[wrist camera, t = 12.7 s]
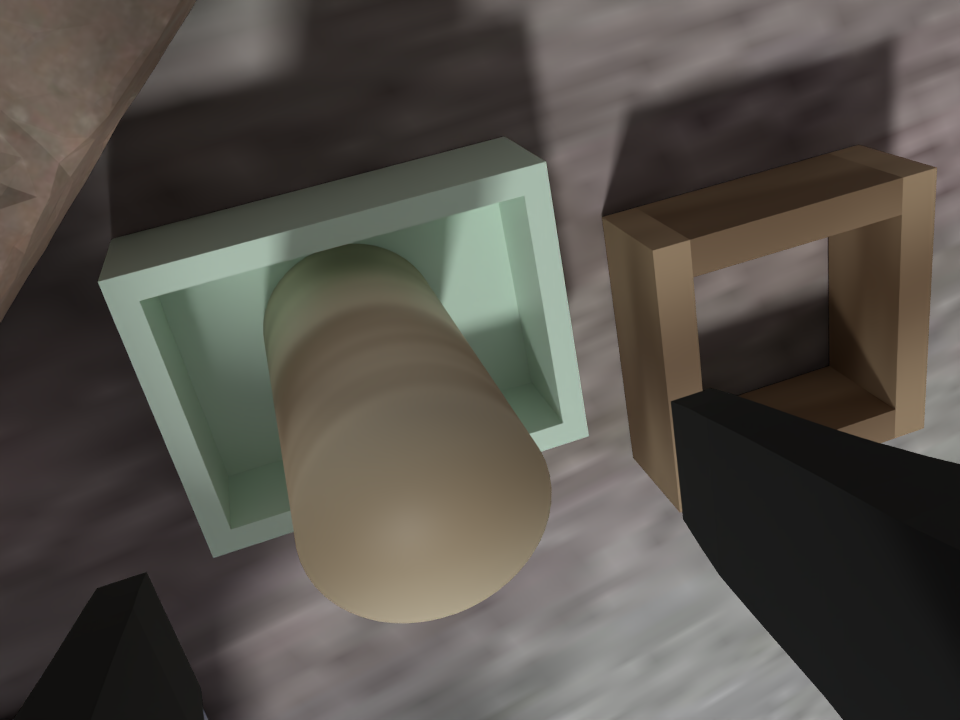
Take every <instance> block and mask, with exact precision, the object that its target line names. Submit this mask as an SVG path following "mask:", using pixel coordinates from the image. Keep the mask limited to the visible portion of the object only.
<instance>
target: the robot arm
mask: <svg viewBox="0 0 960 720" xmlns="http://www.w3.org/2000/svg"><path fill="white" fill-rule="evenodd" d="M671 409H672V419H673V428H674V438H675V447H676V456H677V466H678V475H679V485H680V494H681V504H682V513H683V520H684V521H685V523H686V524H687V526H688V528H689V529H690V531H691V532H692V534H693V536H694V537H695V539H696V540H697V542H698V543H699V545H700V547H701V548H702V550H703V551H704V553H705V554H706V556H707V557H708V559H709V560H710V562H711V563H712V565H713V566H714V568H715V569H716V571H717V572H718V574H719V575H720V576H721V578H722V579H723V580H724V581H725V582H726V584H727V585H728V586H729V587H730V588H731V589H732V591H733V592H734V593H735V594H736V595H737V596H738V598H739V599H740V600H741V601H742V602H743V603H744V605H745V606H746V607H747V608H748V609H749V610H750V612H751V613H752V614H753V615H754V616H755V617H756V619H757V620H758V621H759V622H760V623H761V624H762V625H763V627H764V628H765V629H766V630H767V631H768V632H769V633H770V635H771V636H772V637H773V638H774V639H775V640H776V641H777V643H778V644H779V645H780V646H781V647H782V648H783V649H784V651H785V652H786V653H787V654H788V655H789V656H790V657H791V659H792V660H793V661H794V662H795V663H796V664H797V665H798V667H799V668H800V669H801V670H802V671H803V672H804V673H805V675H806V676H807V677H808V678H809V679H810V680H811V681H812V683H813V684H814V685H815V686H816V687H817V688H818V690H819V691H820V692H821V693H822V694H823V695H824V696H825V698H826V699H827V700H828V701H829V703H830V704H831V705H832V706H833V708H834V709H835V710H836V711H837V713H838V714H839V715H840V716H841V718H842V719H843V720H960V464H957V463H953V462H949V461H944V460H940V459H936V458H932V457H928V456H924V455H921V454H917V453H914V452H910V451H906V450H903V449H899V448H895V447H892V446H888V445H885V444H881V443H878V442H874V441H871V440H868V439H865V438H861V437H858V436H855V435H852V434H848V433H845V432H842V431H839V430H836V429H833V428H830V427H827V426H824V425H821V424H818V423H815V422H812V421H809V420H806V419H803V418H800V417H797V416H795V415H792V414H789V413H786V412H783V411H780V410H777V409H774V408H771V407H769V406H766V405H763V404H760V403H757V402H754V401H751V400H748V399H745V398H742V397H739V396H736V395H733V394H730V393H726V392H723V391H719V390H715V389H712V388H710V389H707V390H704V391H700V392H697V393H694V394H691V395H688V396H685V397H682V398H679V399H676V400H673V401H671ZM13 720H208V718H207V716H206V714H205V712H204V710H203V704H202V695H201V688H200V686H199V684H198V682H197V679H196V677H195V675H194V673H193V671H192V669H191V667H190V664H189V662H188V660H187V658H186V656H185V654H184V652H183V649H182V647H181V645H180V643H179V641H178V639H177V636H176V634H175V632H174V630H173V628H172V626H171V624H170V621H169V619H168V617H167V615H166V613H165V611H164V609H163V606H162V604H161V602H160V600H159V598H158V596H157V594H156V591H155V589H154V587H153V585H152V583H151V581H150V578H149V576H148V574H147V572H146V573H143V574H140V575H137V576H133V577H130V578H127V579H124V580H121V581H118V582H115V583H112V584H109V585H106V586H103V587H100V588H97V590H96V591H95V592H94V594H93V595H92V597H91V598H90V600H89V601H88V603H87V605H86V606H85V608H84V609H83V611H82V613H81V614H80V616H79V617H78V619H77V621H76V622H75V624H74V625H73V627H72V629H71V630H70V632H69V634H68V635H67V637H66V638H65V640H64V642H63V643H62V645H61V646H60V648H59V650H58V651H57V653H56V654H55V656H54V658H53V659H52V661H51V662H50V664H49V666H48V667H47V669H46V670H45V672H44V673H43V675H42V676H41V678H40V680H39V681H38V683H37V684H36V686H35V687H34V689H33V690H32V692H31V693H30V695H29V697H28V698H27V700H26V701H25V703H24V704H23V706H22V707H21V709H20V711H19V712H18V714H17V715H16V717H15V718H14V719H13Z"/></svg>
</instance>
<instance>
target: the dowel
mask: <svg viewBox="0 0 960 720" xmlns="http://www.w3.org/2000/svg"><path fill="white" fill-rule="evenodd" d="M263 336H264V343H265V350H266V356H267V362H268V369H269V375H270V382H271V388H272V395H273V401H274V408H275V414H276V421H277V427H278V433H279V440H280V446H281V453H282V459H283V466H284V472H285V479H286V485H287V491H288V498H289V504H290V511H291V517H292V524H293V530H294V537H295V543H296V549H297V552H298V556H299V559H300V562H301V564H302V566H303V568H304V570H305V572H306V574H307V576H308V577H309V579H310V580H311V582H312V583H313V584H314V586H315V587H316V588H317V589H318V590H319V591H320V592H321V593H322V594H323V595H324V596H325V597H326V598H328V599H329V600H330V601H332V602H333V603H334V604H336V605H337V606H339V607H341V608H343V609H344V610H346V611H348V612H350V613H353V614H355V615H358V616H361V617H363V618H367V619H371V620H376V621H381V622H389V623H416V622H425V621H430V620H435V619H440V618H444V617H447V616H450V615H453V614H456V613H459V612H461V611H463V610H466V609H468V608H470V607H472V606H474V605H476V604H478V603H480V602H482V601H483V600H485V599H487V598H488V597H490V596H491V595H493V594H494V593H495V592H497V591H498V590H500V589H501V588H502V587H503V586H504V585H505V584H507V583H508V582H509V581H510V580H511V579H512V578H513V577H514V576H515V575H516V574H517V573H518V572H519V571H520V570H521V569H522V568H523V566H524V565H525V564H526V562H527V561H528V560H529V558H530V557H531V556H532V554H533V552H534V551H535V549H536V547H537V546H538V544H539V542H540V540H541V537H542V535H543V533H544V531H545V528H546V524H547V521H548V518H549V513H550V506H551V482H550V475H549V471H548V468H547V465H546V461H545V459H544V457H543V455H542V453H541V451H540V449H539V447H538V446H537V444H536V443H535V441H534V440H533V438H532V437H531V436H530V434H529V433H528V431H527V430H526V428H525V427H524V425H523V424H522V422H521V421H520V419H519V418H518V416H517V415H516V413H515V412H514V410H513V409H512V407H511V406H510V404H509V403H508V401H507V400H506V398H505V397H504V395H503V394H502V392H501V391H500V389H499V388H498V386H497V385H496V384H495V382H494V381H493V379H492V378H491V376H490V375H489V373H488V372H487V370H486V369H485V367H484V366H483V364H482V363H481V361H480V360H479V358H478V357H477V355H476V354H475V352H474V351H473V349H472V348H471V346H470V345H469V343H468V342H467V340H466V339H465V337H464V336H463V335H462V333H461V332H460V330H459V329H458V327H457V326H456V324H455V323H454V321H453V320H452V318H451V317H450V315H449V314H448V312H447V311H446V309H445V308H444V306H443V305H442V303H441V302H440V300H439V299H438V297H437V296H436V294H435V293H434V291H433V290H432V288H431V287H430V285H429V284H428V283H427V281H426V280H425V278H424V277H423V275H422V274H421V273H420V272H419V271H418V270H417V269H416V267H415V266H413V265H412V264H411V263H410V262H409V261H407V260H406V259H405V258H403V257H401V256H400V255H398V254H396V253H394V252H392V251H390V250H387V249H385V248H381V247H378V246H374V245H367V244H346V245H342V246H338V247H335V248H331V249H327V250H324V251H320V252H316V253H313V254H311V255H309V256H307V257H306V258H304V259H303V260H301V261H300V262H298V263H297V264H296V265H294V266H293V267H292V268H291V269H290V270H289V271H288V272H287V273H286V274H285V275H284V276H283V278H282V279H281V280H280V281H279V283H278V284H277V286H276V287H275V289H274V290H273V292H272V294H271V297H270V299H269V301H268V304H267V307H266V311H265V316H264V322H263Z"/></svg>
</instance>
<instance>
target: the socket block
mask: <svg viewBox="0 0 960 720" xmlns="http://www.w3.org/2000/svg"><path fill="white" fill-rule="evenodd" d="M936 178H937V168H936V167H933V166H929V165H926V164H923V163H919V162H916V161H912V160H909V159H906V158H902V157H899V156H895V155H892V154H889V153H885V152H882V151H878V150H875V149H871V148H868V147H865V146H861V145H856V146H852V147H849V148H845V149H842V150H838V151H834V152H831V153H827V154H824V155H820V156H817V157H813V158H810V159H806V160H803V161H799V162H796V163H792V164H788V165H785V166H781V167H778V168H774V169H771V170H767V171H764V172H760V173H757V174H753V175H749V176H746V177H742V178H739V179H735V180H732V181H728V182H725V183H721V184H718V185H714V186H710V187H707V188H703V189H700V190H696V191H693V192H689V193H686V194H682V195H679V196H675V197H672V198H668V199H664V200H661V201H657V202H654V203H650V204H647V205H643V206H640V207H636V208H633V209H629V210H625V211H622V212H618V213H615V214H611V215H608V216H604V217H602V221H603V229H604V237H605V244H606V252H607V260H608V267H609V275H610V283H611V290H612V298H613V306H614V313H615V321H616V329H617V337H618V344H619V352H620V360H621V367H622V375H623V383H624V390H625V398H626V406H627V413H628V421H629V429H630V436H631V444H632V452H633V458H634V459H635V460H636V462H637V463H638V464H639V465H640V466H641V467H642V469H643V470H644V471H645V472H646V473H647V474H648V476H649V477H650V478H651V479H652V480H653V481H654V483H655V484H656V485H657V486H658V487H659V489H660V490H661V491H662V492H663V493H664V494H665V496H666V497H667V498H668V499H669V500H670V501H671V503H672V504H673V505H674V506H675V507H676V508H677V510H678V511H679V512H682V504H681V494H680V485H679V475H678V466H677V456H676V447H675V438H674V428H673V419H672V409H671V401H673V400H676V399H679V398H682V397H685V396H688V395H691V394H694V393H697V392H700V391H703V390H702V378H701V366H700V354H699V342H698V330H697V318H696V306H695V294H694V282H693V277H696V276H699V275H702V274H706V273H709V272H712V271H716V270H719V269H722V268H726V267H729V266H732V265H736V264H739V263H742V262H746V261H749V260H752V259H756V258H759V257H762V256H766V255H769V254H772V253H776V252H779V251H782V250H786V249H789V248H792V247H796V246H799V245H802V244H806V243H809V242H812V241H816V240H819V239H822V238H826V237H829V366H828V367H825V368H822V369H819V370H815V371H812V372H809V373H806V374H803V375H800V376H797V377H794V378H791V379H788V380H785V381H782V382H779V383H776V384H773V385H770V386H766V387H763V388H760V389H757V390H754V391H751V392H748V393H745V394H742V395H739V397H742V398H745V399H748V400H751V401H754V402H757V403H760V404H763V405H766V406H769V407H771V408H774V409H777V410H780V411H783V412H786V413H789V414H792V415H795V416H797V417H800V418H803V419H806V420H809V421H812V422H815V423H818V424H821V425H824V426H827V427H830V428H833V429H836V430H839V431H842V432H845V433H848V434H852V435H855V436H858V437H861V438H865V439H868V440H871V441H874V442H878V443H882V442H885V441H888V440H891V439H894V438H897V437H900V436H902V435H905V434H908V433H911V432H914V431H917V430H920V429H923V428H924V415H925V395H926V376H927V356H928V336H929V316H930V297H931V277H932V257H933V237H934V217H935V198H936Z"/></svg>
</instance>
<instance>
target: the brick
mask: <svg viewBox="0 0 960 720" xmlns="http://www.w3.org/2000/svg"><path fill="white" fill-rule="evenodd" d="M196 1H197V0H0V323H1V321H2V320H3V318H4V316H5V314H6V312H7V311H8V309H9V307H10V306H11V304H12V302H13V301H14V299H15V297H16V296H17V294H18V292H19V291H20V289H21V287H22V286H23V284H24V282H25V281H26V279H27V277H28V276H29V274H30V273H31V271H32V269H33V268H34V266H35V265H36V263H37V262H38V260H39V259H40V257H41V256H42V254H43V253H44V251H45V250H46V248H47V246H48V244H49V242H50V240H51V238H52V237H53V235H54V233H55V232H56V230H57V228H58V226H59V225H60V223H61V221H62V219H63V218H64V216H65V214H66V213H67V211H68V209H69V208H70V206H71V204H72V203H73V201H74V200H75V198H76V196H77V195H78V193H79V192H80V190H81V189H82V187H83V185H84V184H85V182H86V181H87V179H88V177H89V175H90V173H91V171H92V169H93V168H94V166H95V164H96V163H97V161H98V159H99V157H100V156H101V154H102V152H103V150H104V148H105V147H106V145H107V143H108V141H109V139H110V137H111V136H112V134H113V132H114V130H115V128H116V126H117V124H118V123H119V121H120V119H121V118H122V116H123V115H124V113H125V112H126V110H127V109H128V108H129V106H130V105H131V103H132V102H133V100H134V99H135V98H136V96H137V95H138V93H139V92H140V90H141V88H142V87H143V85H144V84H145V82H146V81H147V79H148V78H149V76H150V75H151V73H152V71H153V70H154V68H155V67H156V65H157V64H158V62H159V60H160V59H161V57H162V55H163V54H164V52H165V50H166V49H167V47H168V45H169V44H170V42H171V40H172V39H173V37H174V36H175V34H176V33H177V31H178V29H179V28H180V26H181V25H182V23H183V22H184V20H185V18H186V17H187V15H188V14H189V12H190V11H191V9H192V7H193V6H194V4H195V2H196Z"/></svg>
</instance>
